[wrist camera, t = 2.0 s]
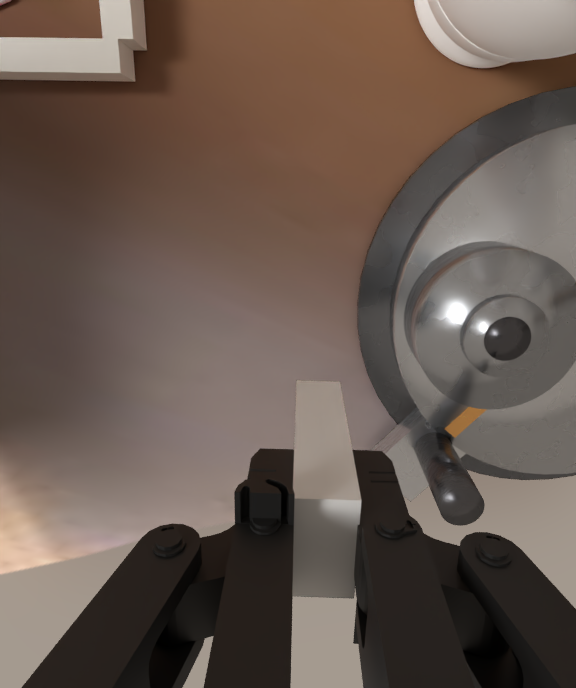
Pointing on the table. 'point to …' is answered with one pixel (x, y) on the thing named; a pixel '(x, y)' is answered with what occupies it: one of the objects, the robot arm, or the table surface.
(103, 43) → the teacup corral
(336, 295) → the table surface
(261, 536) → the robot arm
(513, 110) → the turntable base
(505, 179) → the turntable
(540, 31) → the jar
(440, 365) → the cover
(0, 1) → the teacup
